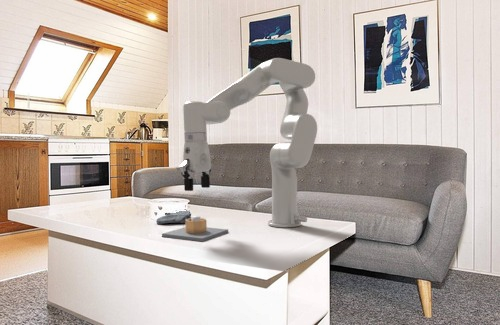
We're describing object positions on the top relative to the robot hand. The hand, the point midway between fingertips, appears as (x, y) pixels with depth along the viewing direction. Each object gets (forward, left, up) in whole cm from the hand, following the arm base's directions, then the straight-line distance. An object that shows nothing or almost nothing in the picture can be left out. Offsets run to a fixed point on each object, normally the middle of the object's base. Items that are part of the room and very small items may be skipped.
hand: (197, 189), depth 136 cm
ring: (0, +1, -14) cm, 14 cm away
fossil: (+22, -17, -16) cm, 32 cm away
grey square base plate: (0, +1, -15) cm, 15 cm away
